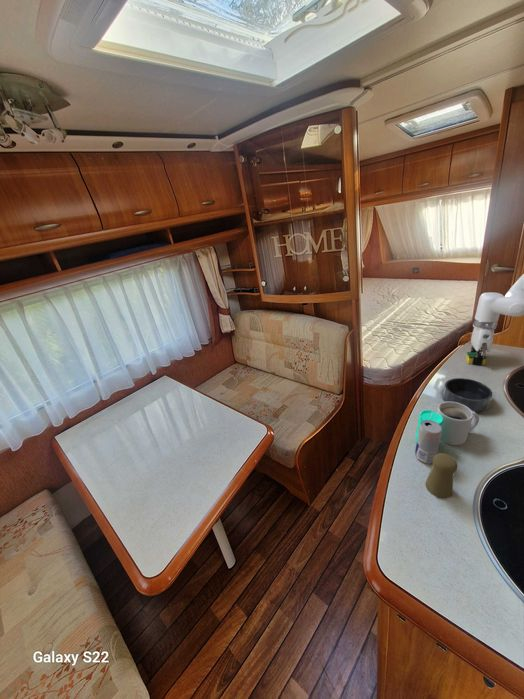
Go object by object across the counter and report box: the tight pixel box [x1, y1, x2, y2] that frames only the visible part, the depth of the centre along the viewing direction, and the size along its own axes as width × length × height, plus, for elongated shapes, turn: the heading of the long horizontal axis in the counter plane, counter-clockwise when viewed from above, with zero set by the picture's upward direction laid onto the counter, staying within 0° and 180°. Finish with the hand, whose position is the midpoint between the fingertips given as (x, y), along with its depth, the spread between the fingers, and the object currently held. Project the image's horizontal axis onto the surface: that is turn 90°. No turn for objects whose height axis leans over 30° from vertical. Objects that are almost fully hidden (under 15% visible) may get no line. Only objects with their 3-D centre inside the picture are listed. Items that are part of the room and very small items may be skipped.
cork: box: [425, 452, 459, 499], centre depth 69 cm, size 6×6×11 cm
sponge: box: [465, 351, 488, 366], centre depth 118 cm, size 6×4×4 cm
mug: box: [436, 401, 480, 446], centre depth 84 cm, size 11×10×10 cm
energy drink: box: [414, 420, 442, 464], centre depth 78 cm, size 5×5×12 cm
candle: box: [415, 409, 443, 444], centre depth 82 cm, size 6×6×12 cm
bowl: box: [442, 377, 493, 414], centre depth 97 cm, size 14×14×6 cm
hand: (475, 361), depth 119 cm, fingers closed on sponge, 4 cm apart
